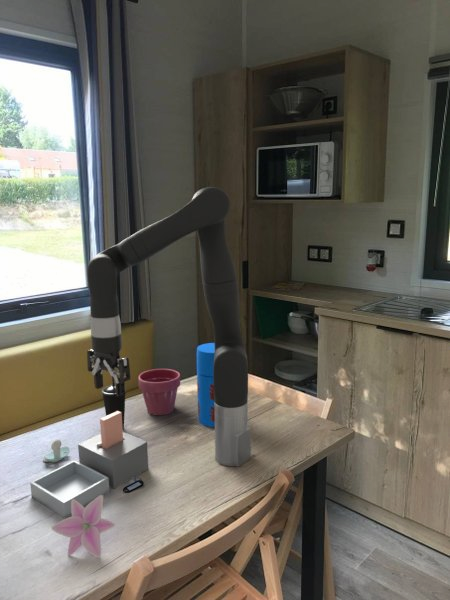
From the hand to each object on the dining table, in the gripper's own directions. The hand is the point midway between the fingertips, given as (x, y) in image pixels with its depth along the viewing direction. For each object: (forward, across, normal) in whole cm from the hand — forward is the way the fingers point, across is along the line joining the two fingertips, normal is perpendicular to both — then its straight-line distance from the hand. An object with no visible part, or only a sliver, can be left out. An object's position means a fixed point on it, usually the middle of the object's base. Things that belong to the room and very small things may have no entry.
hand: (109, 391), depth 131 cm
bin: (+23, 0, +14) cm, 27 cm away
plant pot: (+23, +17, -35) cm, 45 cm away
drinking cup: (+23, +18, -16) cm, 33 cm away
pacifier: (+23, +18, +6) cm, 30 cm away
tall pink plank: (+20, 0, 0) cm, 20 cm away
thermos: (+23, -3, -40) cm, 46 cm away
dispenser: (+23, 0, 0) cm, 23 cm away
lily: (+23, -18, +23) cm, 37 cm away
